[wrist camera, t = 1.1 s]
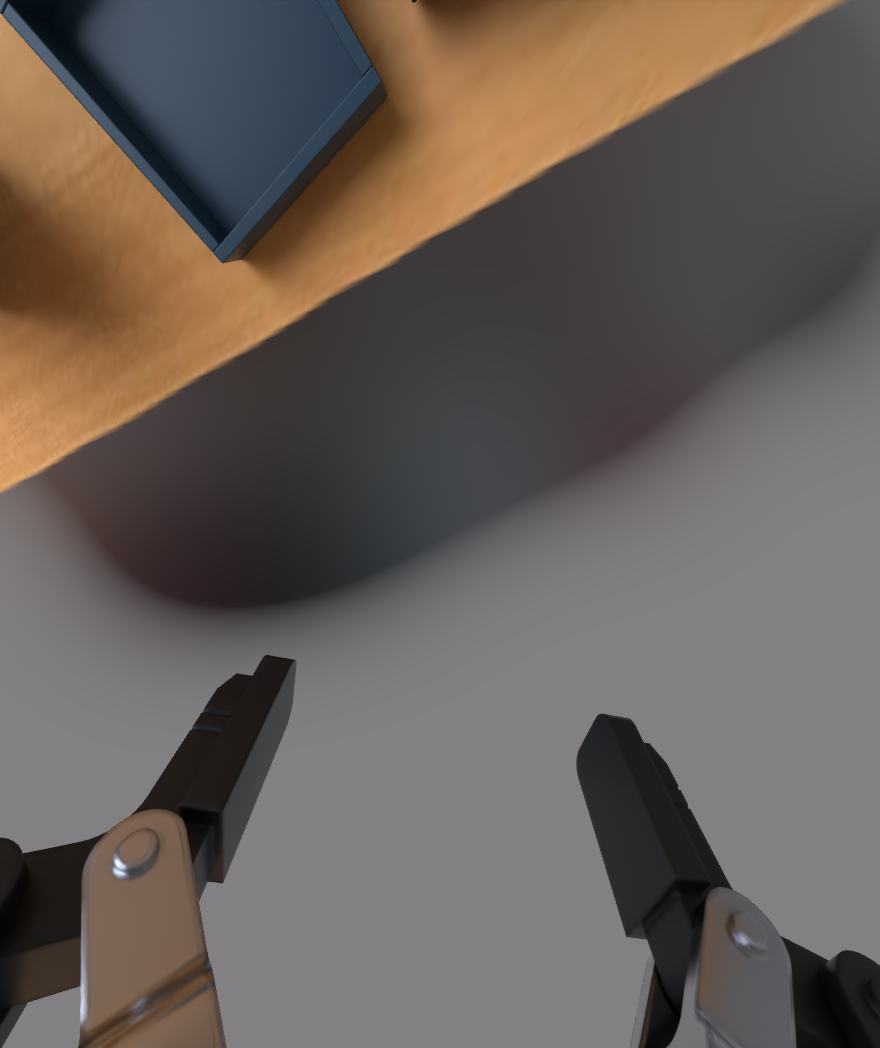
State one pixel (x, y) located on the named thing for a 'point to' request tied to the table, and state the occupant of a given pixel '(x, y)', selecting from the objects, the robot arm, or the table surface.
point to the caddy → (213, 97)
